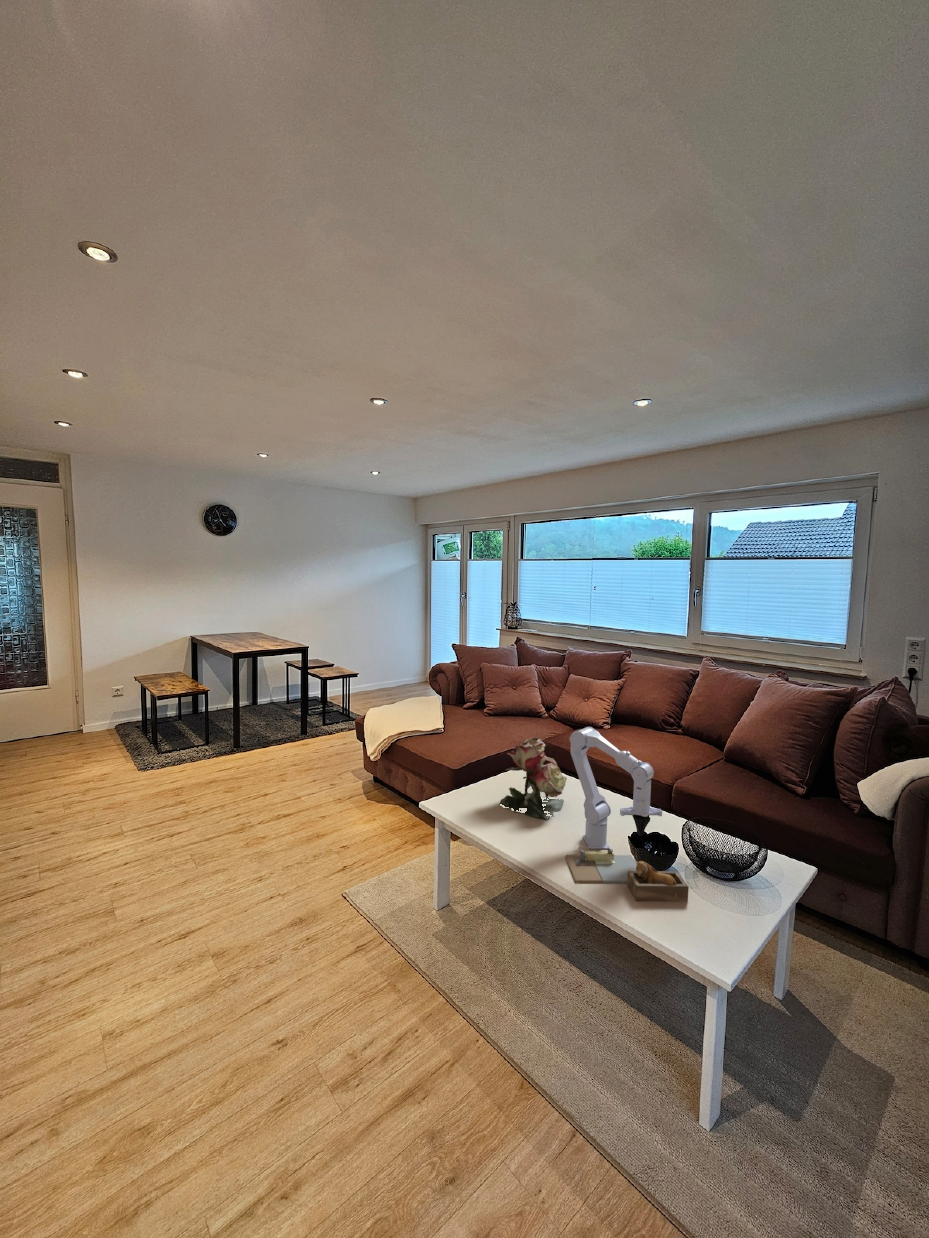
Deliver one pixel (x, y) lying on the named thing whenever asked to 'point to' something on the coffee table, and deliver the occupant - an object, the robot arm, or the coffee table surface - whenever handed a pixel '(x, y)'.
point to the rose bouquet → (536, 780)
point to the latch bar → (600, 855)
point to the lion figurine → (653, 875)
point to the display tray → (657, 888)
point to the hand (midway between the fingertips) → (640, 834)
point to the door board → (600, 869)
